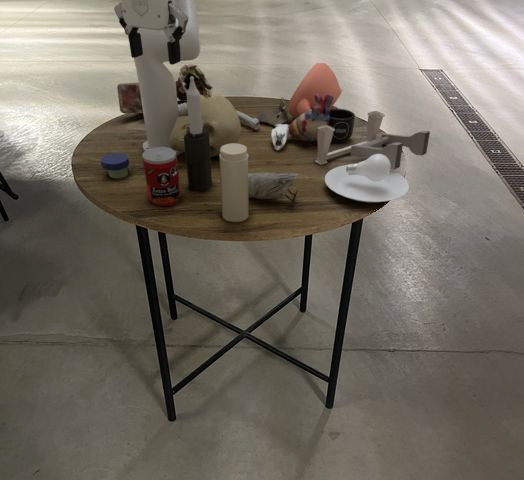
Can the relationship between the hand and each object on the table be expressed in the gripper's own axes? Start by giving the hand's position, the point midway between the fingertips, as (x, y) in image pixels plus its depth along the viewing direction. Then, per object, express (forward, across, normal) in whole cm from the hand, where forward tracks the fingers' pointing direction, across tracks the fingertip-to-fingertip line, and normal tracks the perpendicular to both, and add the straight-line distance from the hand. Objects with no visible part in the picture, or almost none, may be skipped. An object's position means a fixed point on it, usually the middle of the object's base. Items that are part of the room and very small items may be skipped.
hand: (156, 59), depth 100 cm
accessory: (+27, +17, +45) cm, 55 cm away
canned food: (+28, +2, -6) cm, 29 cm away
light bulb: (+27, -27, +42) cm, 56 cm away
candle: (+28, +6, +4) cm, 29 cm away
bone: (+26, -6, +49) cm, 56 cm away
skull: (+22, -12, +16) cm, 30 cm away
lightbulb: (+25, +37, +24) cm, 50 cm away
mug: (+28, +24, +51) cm, 63 cm away
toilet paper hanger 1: (+24, +29, +42) cm, 57 cm away
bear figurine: (+22, -28, +56) cm, 66 cm away
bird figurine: (+25, +13, +34) cm, 44 cm away
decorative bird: (+28, +23, +6) cm, 37 cm away
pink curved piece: (+18, +8, +59) cm, 62 cm away
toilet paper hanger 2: (+22, +42, +44) cm, 65 cm away
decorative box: (+26, -40, +40) cm, 62 cm away
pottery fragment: (+31, -2, +53) cm, 61 cm away
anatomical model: (+28, +16, +44) cm, 55 cm away
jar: (+28, +21, -4) cm, 35 cm away
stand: (+28, -16, -1) cm, 33 cm away
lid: (+24, -16, -1) cm, 29 cm away
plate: (+28, +43, +23) cm, 56 cm away
